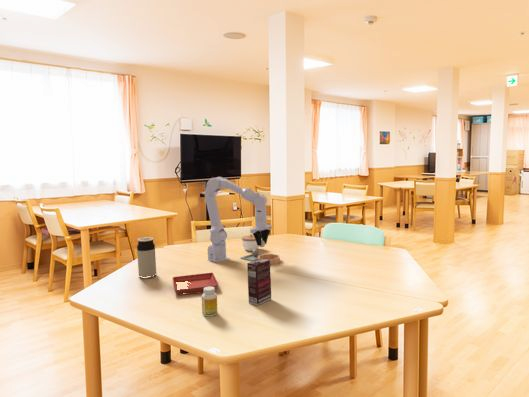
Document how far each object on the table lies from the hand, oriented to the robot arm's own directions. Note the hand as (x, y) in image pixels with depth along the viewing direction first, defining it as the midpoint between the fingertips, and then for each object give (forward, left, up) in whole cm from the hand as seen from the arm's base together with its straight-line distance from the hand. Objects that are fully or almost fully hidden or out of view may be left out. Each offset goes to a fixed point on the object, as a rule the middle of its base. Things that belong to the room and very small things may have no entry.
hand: (261, 244), depth 209 cm
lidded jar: (+14, +21, -9) cm, 27 cm away
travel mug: (-51, +27, -9) cm, 58 cm away
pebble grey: (0, 0, -1) cm, 1 cm away
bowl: (+1, -3, -9) cm, 10 cm away
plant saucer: (-47, -3, -10) cm, 48 cm away
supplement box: (-42, -36, -9) cm, 56 cm away
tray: (+2, +8, -9) cm, 12 cm away
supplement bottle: (-62, -30, -9) cm, 69 cm away
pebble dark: (+5, +9, -9) cm, 13 cm away
